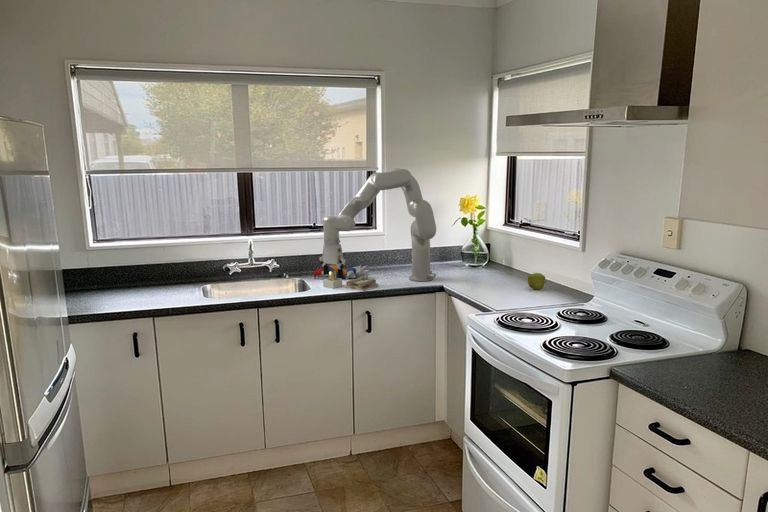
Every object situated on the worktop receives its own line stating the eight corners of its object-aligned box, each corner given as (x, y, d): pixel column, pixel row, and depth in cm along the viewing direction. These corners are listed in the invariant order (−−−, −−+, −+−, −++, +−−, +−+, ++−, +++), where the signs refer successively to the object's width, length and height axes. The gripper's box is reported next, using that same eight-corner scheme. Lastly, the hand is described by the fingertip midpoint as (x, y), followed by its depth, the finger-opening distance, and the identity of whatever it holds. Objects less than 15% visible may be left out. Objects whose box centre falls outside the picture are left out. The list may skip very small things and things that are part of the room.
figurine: (309, 286, 291) (365, 285, 285) (307, 270, 290) (364, 268, 284) (323, 275, 317) (376, 273, 311) (322, 260, 315) (374, 258, 310)
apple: (546, 291, 266) (547, 275, 265) (526, 290, 269) (527, 274, 267) (546, 288, 273) (547, 271, 272) (527, 287, 276) (528, 271, 274)
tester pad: (368, 282, 282) (368, 281, 282) (360, 284, 277) (360, 283, 277) (361, 281, 285) (361, 280, 285) (353, 283, 280) (353, 282, 280)
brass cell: (333, 286, 281) (332, 271, 279) (327, 285, 283) (327, 270, 282) (337, 284, 284) (337, 270, 282) (332, 284, 286) (332, 269, 284)
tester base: (378, 285, 282) (378, 279, 282) (362, 290, 273) (362, 284, 272) (362, 283, 289) (361, 277, 288) (346, 287, 279) (346, 281, 279)
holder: (342, 285, 284) (342, 279, 283) (333, 288, 278) (333, 281, 278) (332, 284, 288) (332, 277, 287) (323, 286, 283) (323, 279, 282)
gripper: (349, 241, 277) (351, 275, 280) (324, 239, 287) (325, 272, 290) (339, 244, 271) (341, 278, 274) (313, 241, 281) (315, 274, 285)
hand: (333, 275), depth 282 cm, fingers open, 9 cm apart
